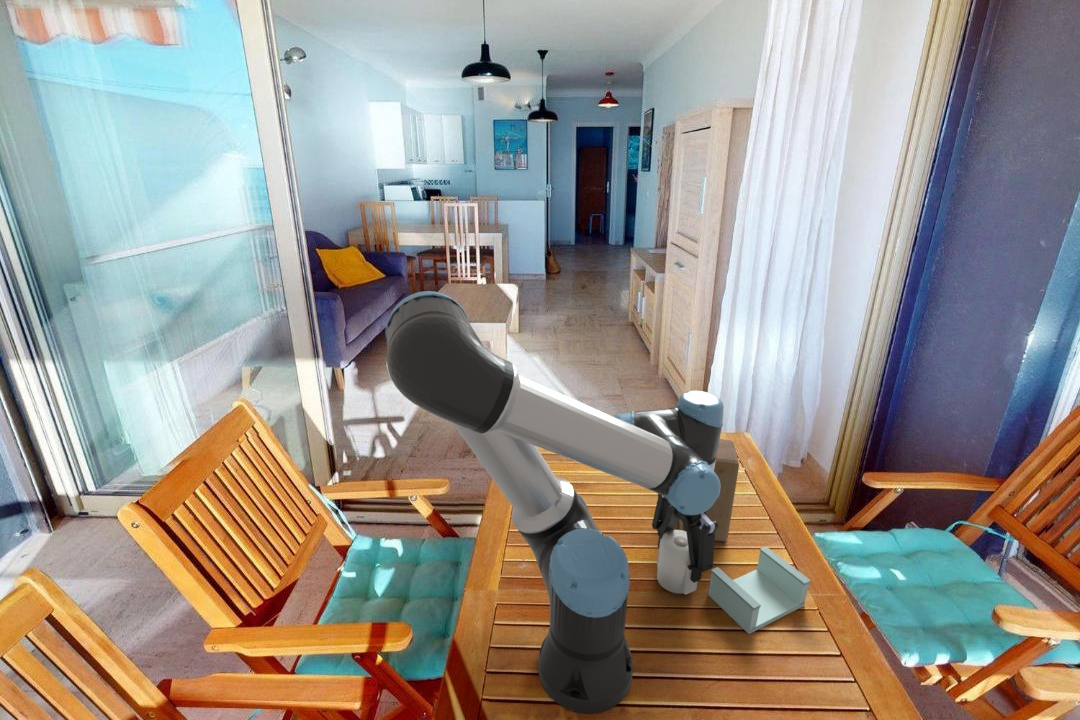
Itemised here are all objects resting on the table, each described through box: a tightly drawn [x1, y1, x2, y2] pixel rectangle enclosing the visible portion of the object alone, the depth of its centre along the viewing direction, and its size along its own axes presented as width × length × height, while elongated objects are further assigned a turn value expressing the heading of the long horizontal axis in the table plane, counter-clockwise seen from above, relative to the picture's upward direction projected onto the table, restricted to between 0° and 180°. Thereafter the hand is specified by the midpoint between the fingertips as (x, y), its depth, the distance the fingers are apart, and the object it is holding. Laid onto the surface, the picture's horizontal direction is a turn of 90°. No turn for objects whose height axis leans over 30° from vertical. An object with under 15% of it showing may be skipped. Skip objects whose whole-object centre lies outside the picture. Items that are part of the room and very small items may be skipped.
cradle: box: [707, 546, 812, 635], centre depth 102 cm, size 14×10×6 cm
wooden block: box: [678, 438, 740, 542], centre depth 120 cm, size 10×10×20 cm
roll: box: [656, 529, 690, 594], centre depth 105 cm, size 7×7×9 cm
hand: (676, 577), depth 107 cm, fingers closed on roll, 7 cm apart
